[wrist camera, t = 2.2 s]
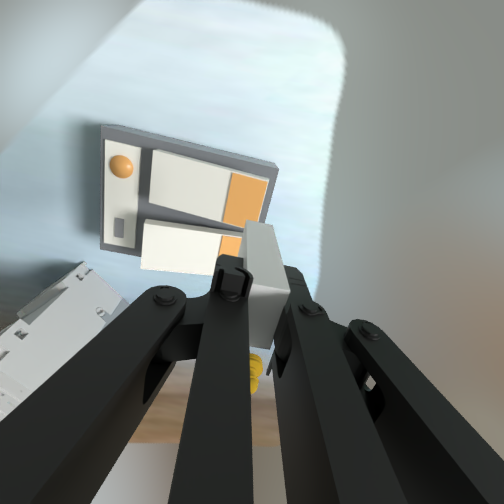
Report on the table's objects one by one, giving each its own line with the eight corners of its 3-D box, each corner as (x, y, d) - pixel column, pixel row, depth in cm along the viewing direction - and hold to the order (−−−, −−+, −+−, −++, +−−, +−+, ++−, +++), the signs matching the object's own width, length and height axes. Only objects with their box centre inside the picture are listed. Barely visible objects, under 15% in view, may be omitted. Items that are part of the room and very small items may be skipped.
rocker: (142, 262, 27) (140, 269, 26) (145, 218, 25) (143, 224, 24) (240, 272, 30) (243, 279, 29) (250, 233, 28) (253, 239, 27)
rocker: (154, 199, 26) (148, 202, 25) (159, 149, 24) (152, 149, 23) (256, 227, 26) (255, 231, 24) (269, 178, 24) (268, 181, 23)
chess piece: (238, 352, 41) (237, 380, 36) (264, 354, 41) (267, 383, 37) (234, 371, 42) (233, 400, 38) (259, 373, 43) (262, 402, 38)
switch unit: (115, 235, 32) (95, 252, 28) (119, 125, 27) (95, 125, 23) (248, 260, 34) (250, 281, 30) (274, 163, 29) (280, 170, 25)
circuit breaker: (123, 358, 40) (64, 477, 27) (42, 290, 35) (-82, 397, 22) (162, 335, 39) (120, 449, 25) (84, 261, 34) (-22, 356, 20)
